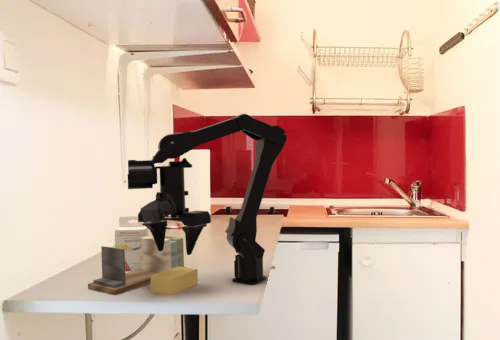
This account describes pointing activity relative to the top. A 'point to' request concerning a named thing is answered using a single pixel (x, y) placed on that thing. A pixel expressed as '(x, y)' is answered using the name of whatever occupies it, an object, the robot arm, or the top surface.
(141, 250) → the brown book holder
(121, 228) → the ink cartridge box
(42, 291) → the top surface
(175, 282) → the ochre book
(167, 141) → the robot arm
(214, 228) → the top surface
